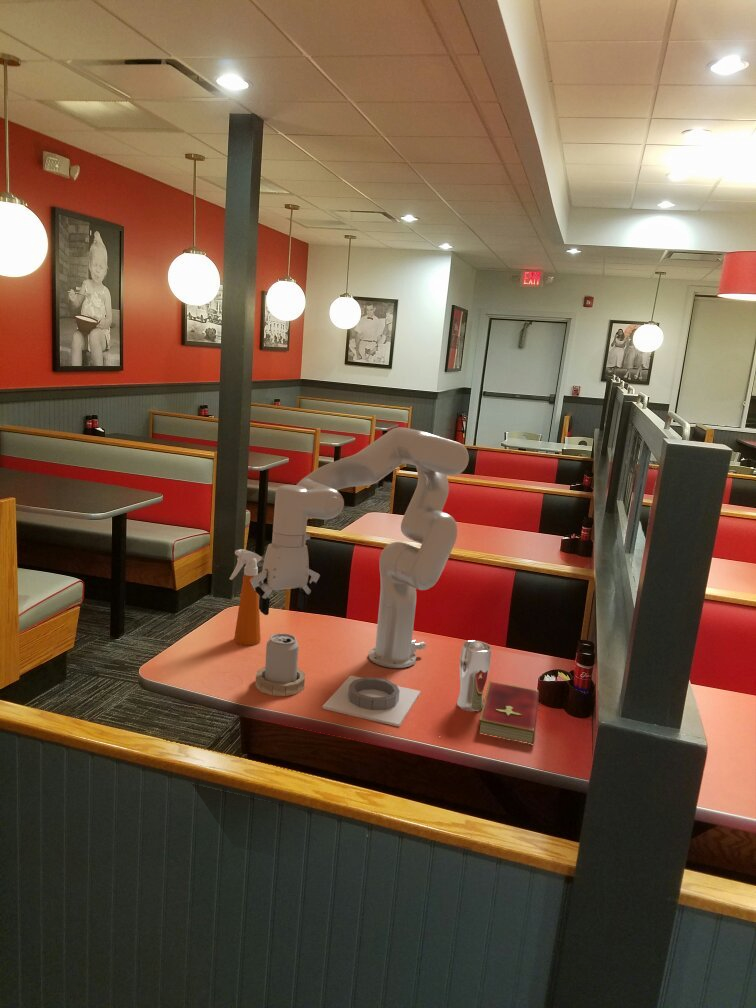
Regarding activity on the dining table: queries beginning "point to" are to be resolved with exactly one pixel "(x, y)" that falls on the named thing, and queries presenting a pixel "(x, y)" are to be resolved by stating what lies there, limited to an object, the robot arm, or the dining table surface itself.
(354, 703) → the holder
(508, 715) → the hardcover book
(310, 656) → the dining table surface
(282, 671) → the can
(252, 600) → the spray bottle
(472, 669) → the silver tumbler
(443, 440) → the robot arm
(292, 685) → the stand ring
